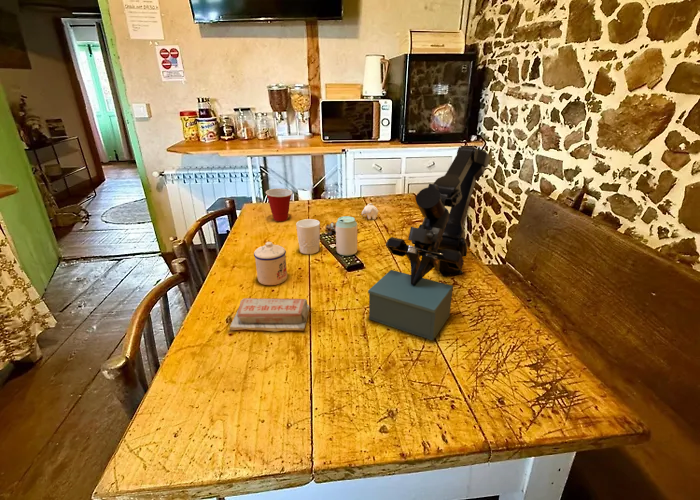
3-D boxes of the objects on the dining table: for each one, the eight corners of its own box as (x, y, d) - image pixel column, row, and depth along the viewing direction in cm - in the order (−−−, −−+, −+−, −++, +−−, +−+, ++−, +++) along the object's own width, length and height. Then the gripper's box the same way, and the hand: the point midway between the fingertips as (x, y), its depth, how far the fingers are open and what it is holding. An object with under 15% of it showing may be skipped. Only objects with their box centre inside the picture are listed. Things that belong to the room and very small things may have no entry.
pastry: (356, 235, 147) (356, 226, 146) (324, 235, 148) (324, 226, 146) (356, 228, 154) (356, 219, 152) (325, 228, 154) (325, 219, 153)
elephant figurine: (362, 215, 167) (362, 201, 165) (380, 216, 166) (381, 202, 164) (360, 220, 161) (360, 207, 159) (379, 221, 160) (380, 207, 158)
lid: (434, 313, 86) (434, 310, 86) (368, 293, 94) (368, 290, 94) (452, 288, 95) (453, 285, 95) (390, 272, 103) (390, 269, 103)
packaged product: (309, 292, 100) (303, 315, 91) (310, 309, 102) (304, 332, 93) (239, 292, 101) (226, 314, 92) (241, 308, 103) (229, 331, 94)
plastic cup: (292, 223, 159) (290, 195, 154) (265, 223, 159) (262, 195, 154) (296, 214, 169) (294, 187, 164) (271, 214, 169) (268, 187, 164)
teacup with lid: (283, 286, 113) (280, 249, 108) (252, 285, 114) (248, 248, 109) (293, 267, 124) (290, 233, 119) (265, 266, 125) (261, 232, 120)
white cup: (293, 253, 134) (291, 225, 129) (304, 244, 140) (303, 217, 136) (314, 256, 131) (313, 228, 127) (324, 247, 138) (323, 220, 133)
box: (432, 340, 90) (435, 311, 86) (369, 319, 98) (369, 292, 94) (449, 315, 99) (452, 288, 95) (390, 298, 107) (390, 272, 103)
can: (350, 258, 129) (349, 224, 124) (332, 254, 133) (331, 220, 128) (361, 250, 135) (361, 217, 130) (343, 246, 138) (343, 214, 133)
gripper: (390, 206, 97) (367, 264, 93) (465, 219, 88) (444, 283, 84) (402, 226, 106) (382, 279, 102) (471, 240, 97) (452, 299, 93)
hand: (412, 284), depth 95 cm, fingers closed, pressing on lid
